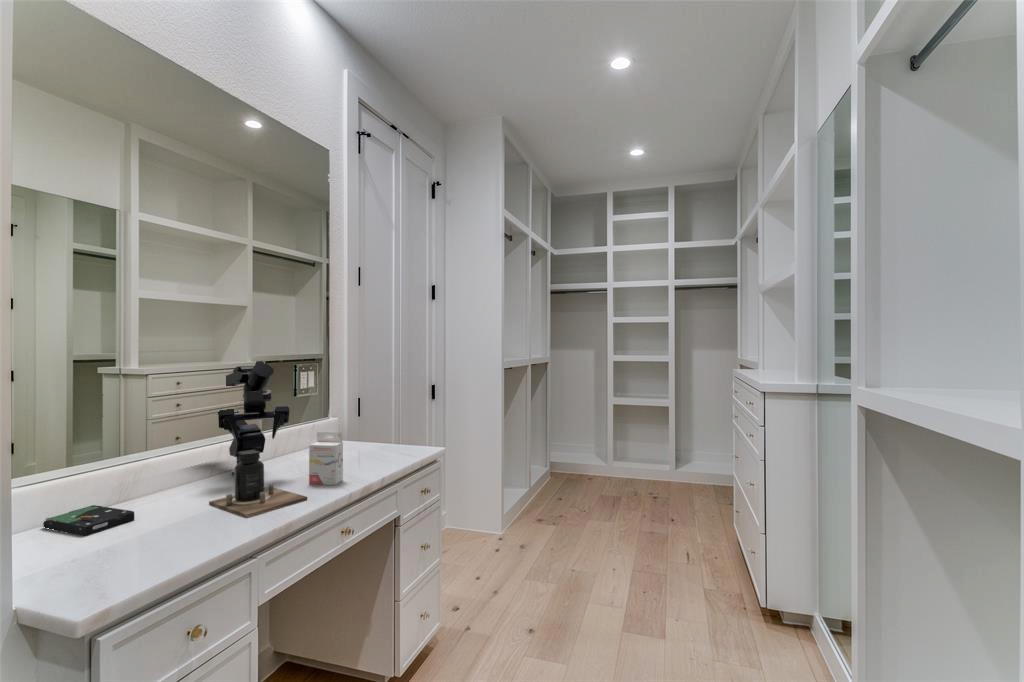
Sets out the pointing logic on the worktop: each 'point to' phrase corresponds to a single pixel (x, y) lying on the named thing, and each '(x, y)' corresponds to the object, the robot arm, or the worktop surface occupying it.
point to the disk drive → (89, 520)
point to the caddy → (258, 502)
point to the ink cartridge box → (326, 459)
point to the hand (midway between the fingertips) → (255, 439)
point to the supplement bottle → (249, 477)
